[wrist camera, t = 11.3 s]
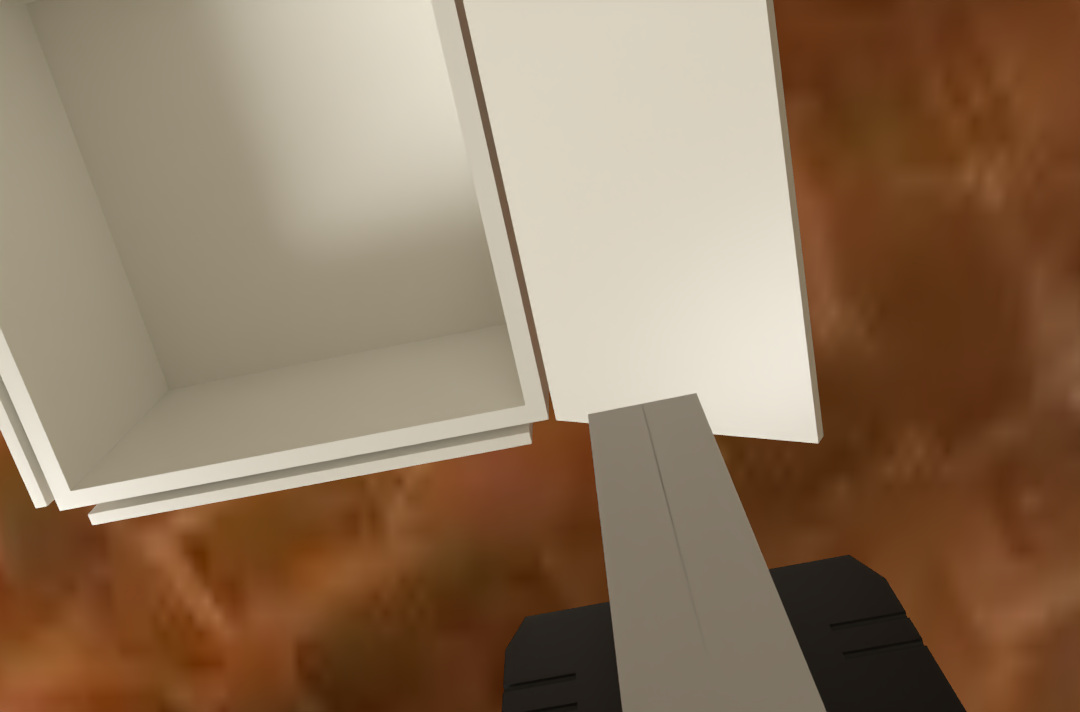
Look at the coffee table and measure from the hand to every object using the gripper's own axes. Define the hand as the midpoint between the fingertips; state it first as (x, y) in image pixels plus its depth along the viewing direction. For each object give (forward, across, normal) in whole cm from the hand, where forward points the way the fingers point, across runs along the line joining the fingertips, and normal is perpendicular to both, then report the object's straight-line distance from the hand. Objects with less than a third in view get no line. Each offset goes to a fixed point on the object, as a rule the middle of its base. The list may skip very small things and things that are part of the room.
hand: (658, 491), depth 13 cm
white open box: (+24, -10, +3) cm, 26 cm away
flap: (+12, +1, +3) cm, 12 cm away
